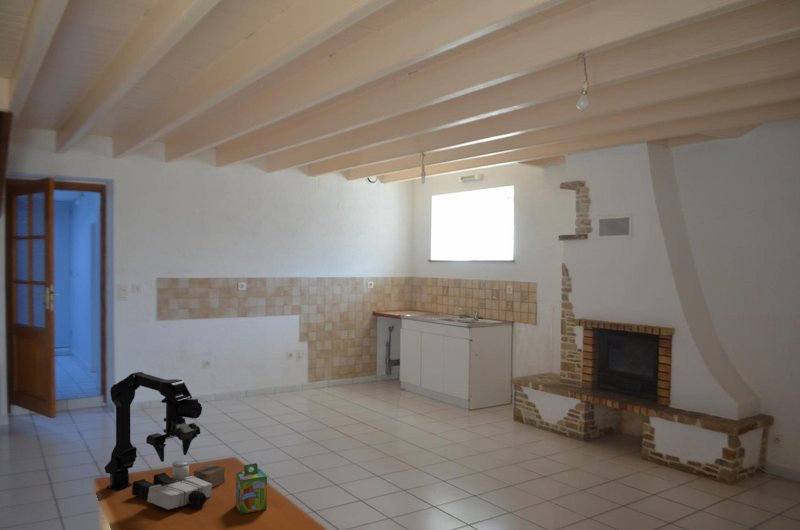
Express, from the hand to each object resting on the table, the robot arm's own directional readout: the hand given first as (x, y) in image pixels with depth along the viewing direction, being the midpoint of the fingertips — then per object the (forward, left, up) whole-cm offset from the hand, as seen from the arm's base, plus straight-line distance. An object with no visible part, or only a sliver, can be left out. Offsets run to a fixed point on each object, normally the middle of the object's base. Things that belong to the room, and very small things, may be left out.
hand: (173, 458), depth 211 cm
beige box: (+2, +15, -14) cm, 21 cm away
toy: (+2, -2, -15) cm, 15 cm away
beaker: (-13, +15, -14) cm, 24 cm away
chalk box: (+31, +5, -14) cm, 35 cm away
